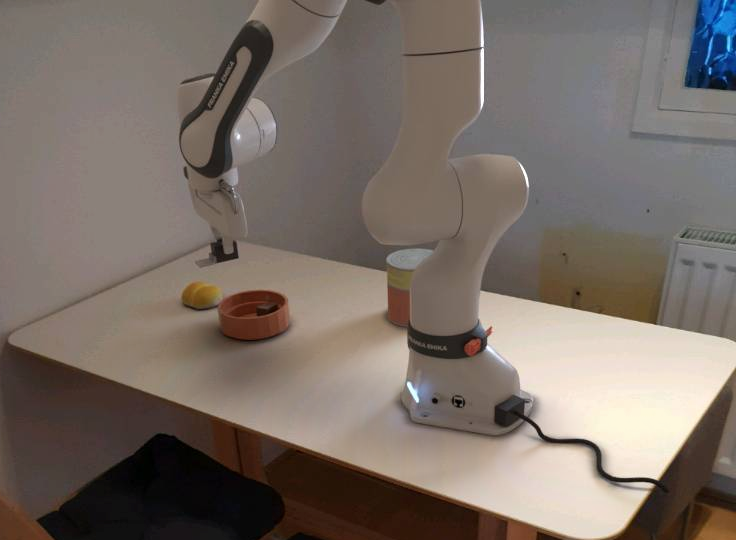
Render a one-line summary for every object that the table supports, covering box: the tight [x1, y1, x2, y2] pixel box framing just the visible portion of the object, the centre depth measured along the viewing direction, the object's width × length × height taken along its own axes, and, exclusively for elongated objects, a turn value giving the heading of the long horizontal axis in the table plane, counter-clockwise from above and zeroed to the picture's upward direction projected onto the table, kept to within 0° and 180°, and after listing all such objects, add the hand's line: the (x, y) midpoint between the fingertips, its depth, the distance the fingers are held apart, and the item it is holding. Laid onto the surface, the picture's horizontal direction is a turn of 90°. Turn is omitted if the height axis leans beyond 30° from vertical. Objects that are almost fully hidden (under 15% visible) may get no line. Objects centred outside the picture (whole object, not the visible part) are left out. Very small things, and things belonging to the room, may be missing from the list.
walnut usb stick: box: [256, 302, 278, 317], centre depth 166 cm, size 8×3×3 cm, turn 155°
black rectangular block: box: [194, 240, 240, 269], centre depth 156 cm, size 8×3×3 cm, turn 117°
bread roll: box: [181, 281, 224, 310], centre depth 178 cm, size 8×9×4 cm
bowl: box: [217, 289, 291, 341], centre depth 167 cm, size 14×14×5 cm
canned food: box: [385, 247, 435, 328], centre depth 165 cm, size 11×11×12 cm
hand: (224, 249), depth 156 cm, fingers closed on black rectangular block, 2 cm apart
